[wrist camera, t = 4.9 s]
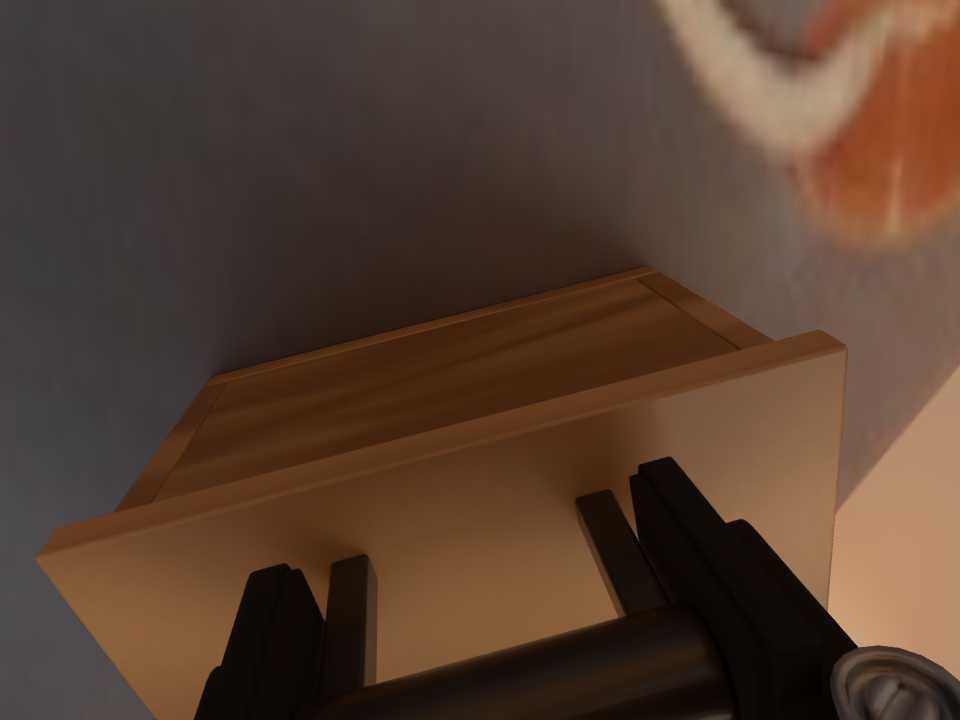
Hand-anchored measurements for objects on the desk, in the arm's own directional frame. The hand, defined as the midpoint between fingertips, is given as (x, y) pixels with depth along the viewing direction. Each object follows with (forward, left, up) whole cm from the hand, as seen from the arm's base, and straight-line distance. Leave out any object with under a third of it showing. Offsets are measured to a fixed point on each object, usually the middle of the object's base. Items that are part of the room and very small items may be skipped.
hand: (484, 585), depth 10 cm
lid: (+5, 0, -2) cm, 5 cm away
